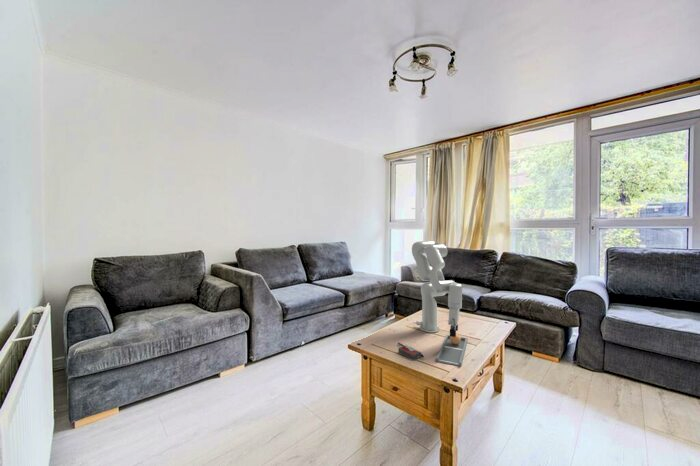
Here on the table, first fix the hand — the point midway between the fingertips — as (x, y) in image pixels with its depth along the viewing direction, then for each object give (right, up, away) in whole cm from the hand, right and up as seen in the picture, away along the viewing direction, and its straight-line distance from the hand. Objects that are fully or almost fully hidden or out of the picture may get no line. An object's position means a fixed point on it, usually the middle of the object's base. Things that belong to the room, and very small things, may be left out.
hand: (453, 333), depth 169 cm
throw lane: (-3, -7, -9) cm, 11 cm away
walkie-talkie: (-30, -8, -10) cm, 32 cm away
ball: (0, -3, -1) cm, 3 cm away
